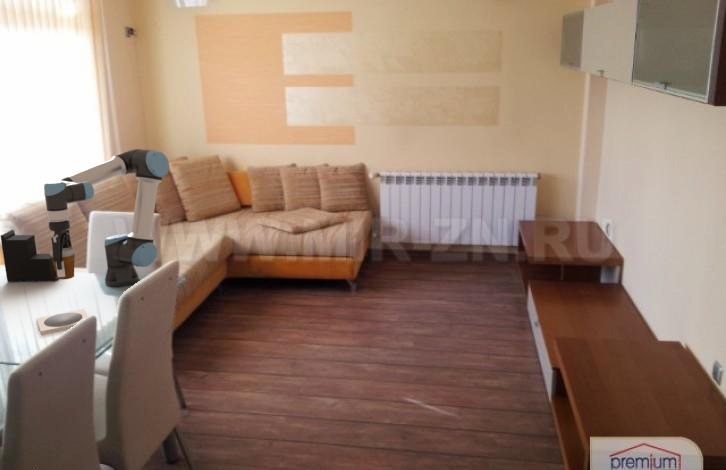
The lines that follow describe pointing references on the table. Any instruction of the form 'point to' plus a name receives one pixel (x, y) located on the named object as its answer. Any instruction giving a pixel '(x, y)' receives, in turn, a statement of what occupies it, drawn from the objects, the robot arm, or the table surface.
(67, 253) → the disposable coffee cup
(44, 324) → the carrier board
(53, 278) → the bookend
